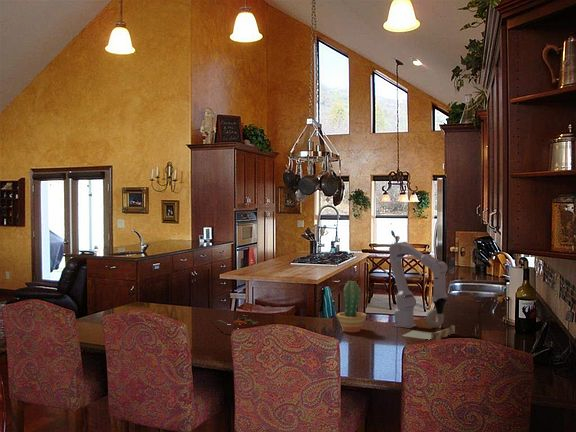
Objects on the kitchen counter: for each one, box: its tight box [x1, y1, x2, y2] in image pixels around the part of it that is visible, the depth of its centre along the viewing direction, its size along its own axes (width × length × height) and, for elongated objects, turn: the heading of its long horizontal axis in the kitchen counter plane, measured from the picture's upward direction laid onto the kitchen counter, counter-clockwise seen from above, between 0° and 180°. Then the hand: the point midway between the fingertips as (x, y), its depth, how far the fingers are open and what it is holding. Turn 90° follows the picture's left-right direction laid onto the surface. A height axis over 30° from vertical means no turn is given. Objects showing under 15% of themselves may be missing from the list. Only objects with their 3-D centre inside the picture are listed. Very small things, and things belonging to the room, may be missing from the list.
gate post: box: [450, 324, 456, 334], centre depth 260 cm, size 2×2×4 cm
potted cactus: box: [336, 280, 367, 333], centre depth 273 cm, size 15×15×25 cm
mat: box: [401, 330, 433, 341], centre depth 260 cm, size 14×14×1 cm
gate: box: [430, 326, 453, 341], centre depth 252 cm, size 18×1×3 cm, turn 135°
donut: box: [426, 308, 445, 329], centre depth 275 cm, size 10×4×10 cm, turn 110°
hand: (439, 313), depth 265 cm, fingers closed
